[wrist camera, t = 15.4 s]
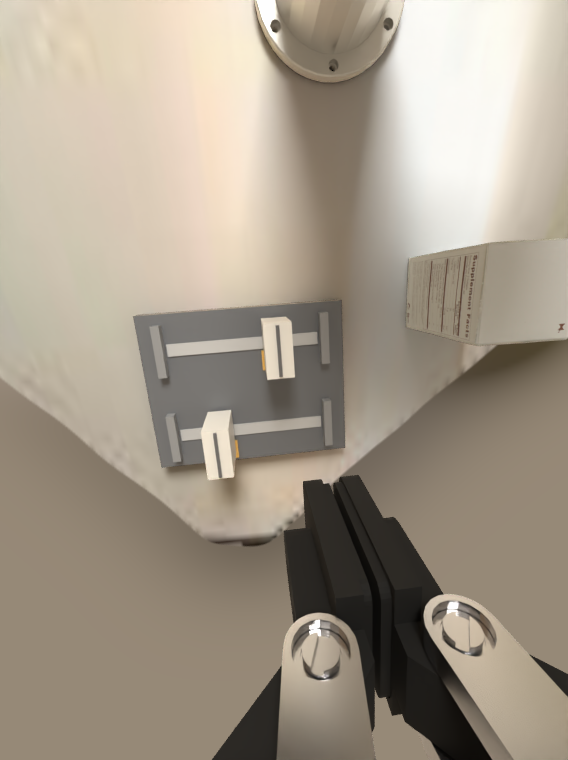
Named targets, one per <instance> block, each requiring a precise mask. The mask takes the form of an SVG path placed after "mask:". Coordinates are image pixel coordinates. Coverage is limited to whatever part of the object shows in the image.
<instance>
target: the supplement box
mask: <svg viewBox="0 0 568 760" xmlns="http://www.w3.org/2000/svg"><path fill="white" fill-rule="evenodd" d="M406 327H407V328H410V329H414V330H419V331H422V332H426V333H430V334H433V335H437V336H441V337H444V338H448V339H452V340H455V341H459V342H463V343H467V344H471V345H476V346H486V345H498V344H512V343H528V342H539V341H553V340H566V339H567V338H568V238H565V239H541V240H522V241H506V242H493V243H486V244H481V245H476V246H470V247H465V248H459V249H454V250H448V251H442V252H437V253H432V254H427V255H422V256H417V257H412V258H409V265H408V285H407V307H406Z"/></svg>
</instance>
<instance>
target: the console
mask: <svg viewBox="0 0 568 760" xmlns="http://www.w3.org/2000/svg"><path fill="white" fill-rule="evenodd" d="M285 316H286V317H287V318H288V319H289V320H290V321H291V322H292V338H293V354H294V369H295V377H293V378H283V379H272V380H267V375H266V369H265V361H264V349H263V338H262V326H261V318H273V317H285ZM133 318H134V323H135V329H136V334H137V339H138V345H139V350H140V355H141V361H142V366H143V371H144V377H145V382H146V387H147V392H148V398H149V403H150V408H151V414H152V419H153V424H154V430H155V435H156V440H157V446H158V451H159V456H160V461H161V467H162V468H163V467H173V466H182V465H191V464H200V463H205V457H204V450H203V444H202V437H201V430H202V427H203V424H204V421H205V419H206V416H207V413H208V412H214V411H224V410H231V412H232V420H233V429H234V437H235V445H236V460H237V459H246V458H255V457H264V456H273V455H282V454H291V453H301V452H310V451H319V450H328V449H337V448H345V423H344V381H343V339H342V300H337V299H336V300H323V301H311V302H298V303H285V304H272V305H259V306H246V307H233V308H220V309H207V310H194V311H181V312H168V313H155V314H142V315H137V316H133Z"/></svg>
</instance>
